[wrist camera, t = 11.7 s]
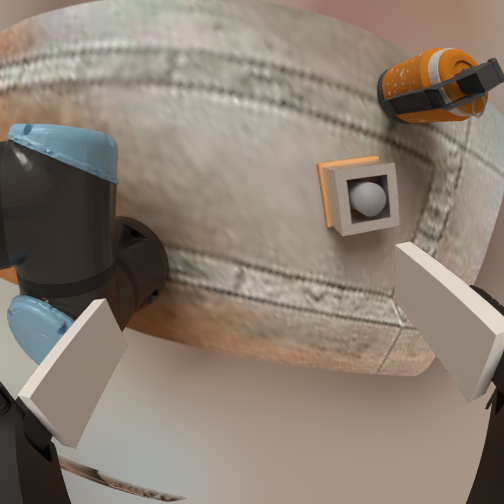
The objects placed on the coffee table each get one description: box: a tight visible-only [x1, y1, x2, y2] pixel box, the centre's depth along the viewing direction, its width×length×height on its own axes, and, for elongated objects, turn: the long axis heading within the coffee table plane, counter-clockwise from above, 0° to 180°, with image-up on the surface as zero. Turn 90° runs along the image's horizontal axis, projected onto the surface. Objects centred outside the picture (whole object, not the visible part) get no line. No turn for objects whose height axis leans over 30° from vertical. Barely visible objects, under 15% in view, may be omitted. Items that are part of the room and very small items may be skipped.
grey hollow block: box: [322, 160, 400, 236], centre depth 34 cm, size 8×8×6 cm
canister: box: [377, 48, 504, 124], centre depth 24 cm, size 9×11×20 cm
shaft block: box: [317, 156, 386, 228], centre depth 35 cm, size 9×9×8 cm
